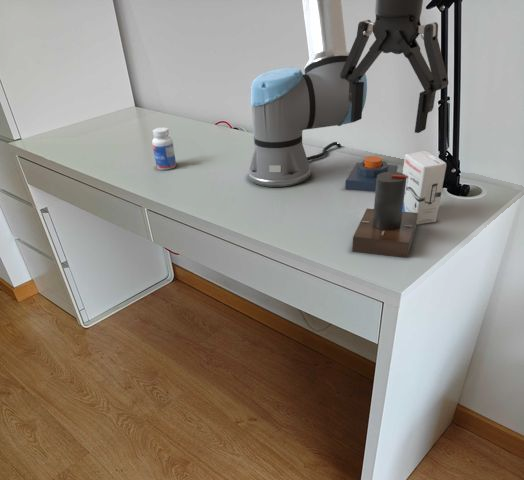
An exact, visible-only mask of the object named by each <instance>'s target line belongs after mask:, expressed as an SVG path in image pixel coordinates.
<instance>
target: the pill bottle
mask: <svg viewBox="0 0 524 480" xmlns="http://www.w3.org/2000/svg"><path fill="white" fill-rule="evenodd" d="M152 135H153V139H152V140H151V144H152V151H153V155H154V160H155V161H154V162H155V166H156V168H157V169H158V170H161V171H167V170H171V169H174V168H176V166H177V161H176V154H175V148H174V142H173V138H172V137H171V136H169V135H170V132H169V128H168V127H156V128H154V129H152Z"/></svg>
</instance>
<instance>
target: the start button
mask: <svg viewBox="0 0 524 480" xmlns="http://www.w3.org/2000/svg"><path fill="white" fill-rule="evenodd" d="M364 161H365V163H364V167H367V168H380V167H382V161H383V158H382V157H381V156H378V155H377V156H376V155H370V156H366V157H364Z"/></svg>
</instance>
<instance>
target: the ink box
mask: <svg viewBox="0 0 524 480" xmlns="http://www.w3.org/2000/svg"><path fill="white" fill-rule="evenodd" d="M402 167H403V168H402V174H405V175H406V176H407V179H406V187H405V195H404V203H403V211H402V212H413V213H418V216H417V223H416V226H418V225H423V224H429V223H436V222H437V219H438V213H439V209H440V208H439V207H440V203H441V202H440V201H441V198H442V197H441V196H442V191H443V186H444V181H445V176H446V170H447V162H445V161H444V160H442V159H441V158H439V157H438V156H436V155H435V154H434V153H432V152H430V151H429V150H422V151H417V152H410V153H405V154H404V160H403V166H402Z"/></svg>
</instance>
